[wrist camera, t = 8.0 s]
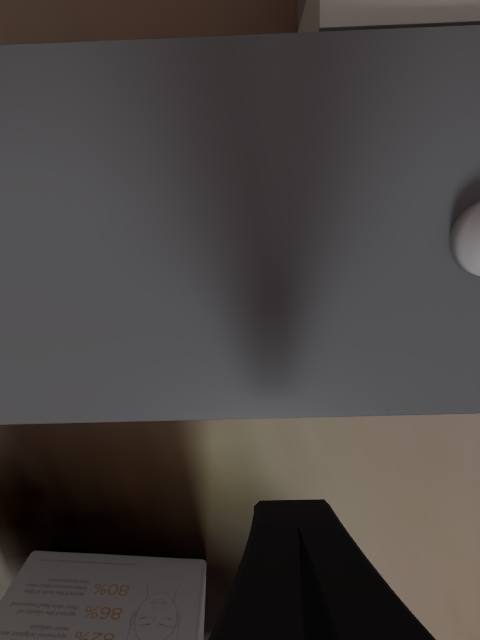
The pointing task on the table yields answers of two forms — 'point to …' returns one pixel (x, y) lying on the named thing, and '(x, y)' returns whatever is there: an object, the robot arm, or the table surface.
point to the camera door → (384, 14)
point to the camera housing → (240, 226)
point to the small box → (104, 598)
